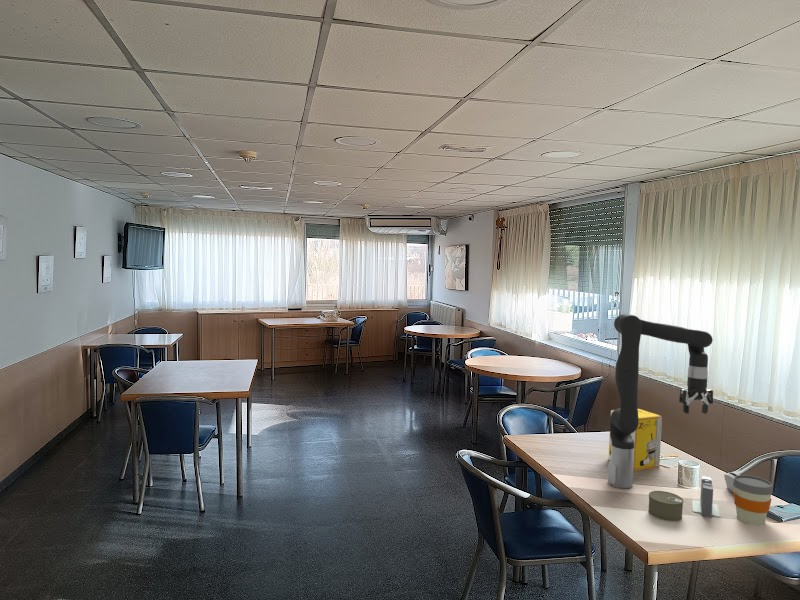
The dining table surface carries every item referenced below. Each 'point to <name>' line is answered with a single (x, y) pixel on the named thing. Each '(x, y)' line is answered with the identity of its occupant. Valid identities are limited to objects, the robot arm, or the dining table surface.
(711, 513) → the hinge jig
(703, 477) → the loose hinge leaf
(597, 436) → the dining table surface
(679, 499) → the can
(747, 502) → the reusable coffee cup
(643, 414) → the packaging box
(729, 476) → the hinge
